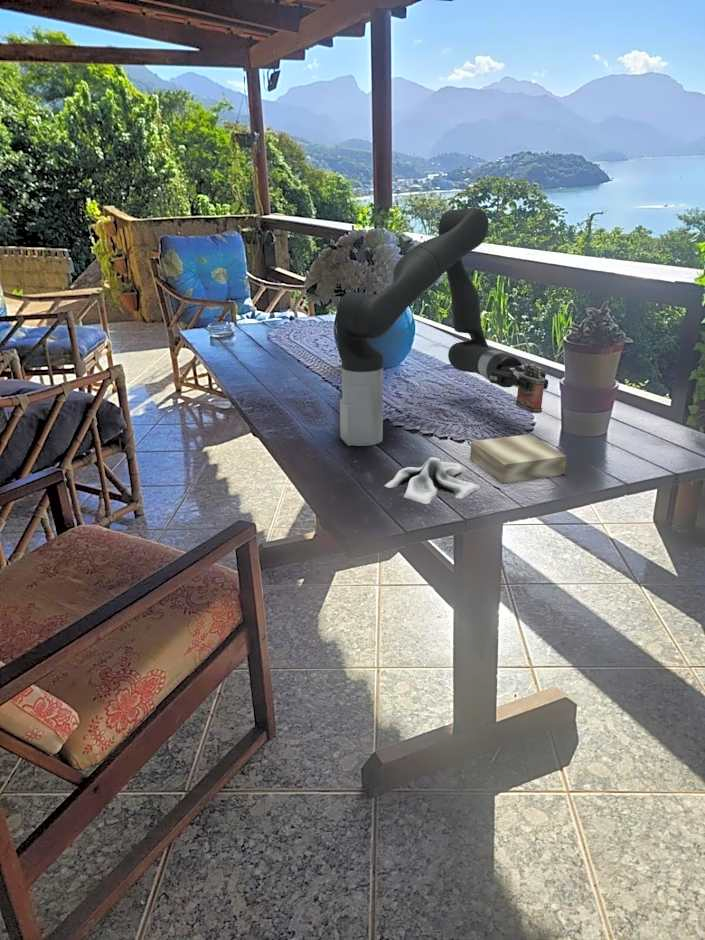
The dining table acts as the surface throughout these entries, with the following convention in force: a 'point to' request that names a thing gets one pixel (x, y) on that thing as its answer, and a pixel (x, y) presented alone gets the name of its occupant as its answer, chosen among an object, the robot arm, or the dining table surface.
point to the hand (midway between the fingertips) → (538, 385)
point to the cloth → (432, 480)
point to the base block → (517, 458)
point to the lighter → (533, 397)
